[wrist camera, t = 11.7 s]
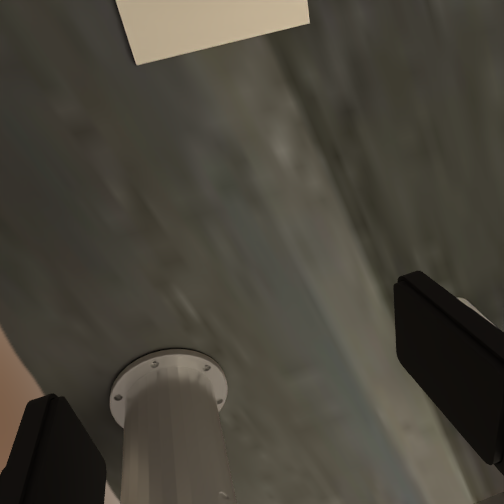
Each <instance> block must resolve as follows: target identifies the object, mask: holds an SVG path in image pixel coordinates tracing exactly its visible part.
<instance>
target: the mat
mask: <svg viewBox="0 0 504 504" xmlns="http://www.w3.org/2000/svg"><path fill="white" fill-rule="evenodd" d="M116 3H117V6H118V10H119V13H120V16H121V19H122V22H123V25H124V28H125V31H126V34H127V38H128V41H129V44H130V47H131V50H132V53H133V56H134V59H135V62H136V65H140V64H144V63H149V62H153V61H157V60H161V59H165V58H169V57H173V56H177V55H181V54H185V53H190V52H194V51H198V50H202V49H206V48H210V47H214V46H218V45H222V44H226V43H231V42H235V41H239V40H243V39H247V38H251V37H255V36H259V35H263V34H267V33H272V32H276V31H280V30H284V29H288V28H292V27H296V26H300V25H304V24H308V23H310V21H309V12H308V3H307V0H116Z"/></svg>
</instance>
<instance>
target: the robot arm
mask: <svg viewBox="0 0 504 504" xmlns="http://www.w3.org/2000/svg"><path fill="white" fill-rule="evenodd" d="M394 309H395V330H396V352H397V357H398V359H399V361H400V363H401V364H402V366H403V367H404V368H405V369H406V370H407V372H408V373H409V374H410V375H411V376H412V377H413V379H414V380H415V381H416V382H417V383H418V385H419V386H420V387H421V388H422V389H423V390H424V392H425V393H426V394H427V395H428V396H429V397H430V399H431V400H432V401H433V402H434V403H435V404H436V406H437V407H438V408H439V409H440V410H441V411H442V413H443V414H444V415H445V416H446V417H447V418H448V420H449V421H450V422H451V423H452V424H453V426H454V427H455V428H456V429H457V430H458V431H459V433H460V434H461V435H462V436H463V437H464V438H465V440H466V441H467V442H468V443H469V444H470V445H471V447H472V448H473V449H474V450H475V451H476V452H477V454H478V455H479V456H480V457H481V458H482V459H483V460H484V461H485V462H486V463H487V464H489V465H492V464H494V465H495V466H496V467H497V469H498V470H499V471H500V472H501V473H502V474H503V475H504V332H502V331H501V330H500V329H498V328H497V327H496V326H494V325H493V324H492V323H490V322H489V321H488V320H486V319H485V318H484V317H482V316H481V315H480V314H478V313H477V312H476V311H474V310H473V309H472V308H470V307H468V306H467V305H465V304H464V303H463V302H461V301H460V300H459V299H457V298H456V297H455V296H453V295H452V294H451V293H449V292H448V291H447V290H445V289H444V288H443V287H441V286H440V285H439V284H437V283H436V282H435V281H433V280H432V279H431V278H430V277H428V276H427V275H426V274H424V273H423V272H421V271H415V272H412V273H409V274H406V275H403V276H400V277H399V278H398V283H396V284H394ZM227 391H228V386H227V381H226V377H225V374H224V371H223V370H222V368H221V367H220V365H219V364H218V363H217V362H215V361H214V360H213V359H212V358H210V357H208V356H207V355H205V354H202V353H199V352H196V351H192V350H186V349H169V350H162V351H158V352H154V353H151V354H148V355H146V356H143V357H141V358H139V359H137V360H136V361H134V362H133V363H131V364H130V365H128V366H127V367H126V368H125V369H124V370H123V371H122V372H121V373H120V374H119V375H118V377H117V378H116V380H115V381H114V384H113V386H112V388H111V394H110V410H111V414H112V416H113V418H114V419H115V421H116V422H117V423H118V424H119V425H120V426H121V427H122V428H123V429H124V438H123V459H122V481H121V502H120V504H237V501H236V496H235V491H234V486H233V481H232V476H231V471H230V466H229V462H228V457H227V452H226V447H225V442H224V437H223V432H222V427H221V422H220V418H219V411H220V410H221V409H222V407H223V405H224V403H225V401H226V398H227ZM105 485H106V464H105V461H104V459H103V457H102V455H101V454H100V452H99V451H98V449H97V447H96V446H95V444H94V443H93V441H92V439H91V438H90V436H89V435H88V433H87V432H86V430H85V428H84V427H83V425H82V424H81V422H80V420H79V419H78V417H77V416H76V414H75V413H74V411H73V409H72V408H71V406H70V405H69V403H68V401H67V400H66V399H65V397H63V396H61V397H57V395H55V394H49V395H46V396H43V397H40V398H37V399H34V400H31V401H29V402H28V404H27V405H26V408H25V411H24V414H23V417H22V420H21V423H20V426H19V429H18V432H17V435H16V438H15V441H14V444H13V447H12V450H11V453H10V456H9V459H8V462H7V465H6V467H5V468H4V469H3V470H2V472H1V474H0V504H104V496H105ZM475 504H504V492H502V493H500V494H497V495H495V496H492V497H490V498H487V499H484V500H482V501H479V502H477V503H475Z"/></svg>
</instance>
